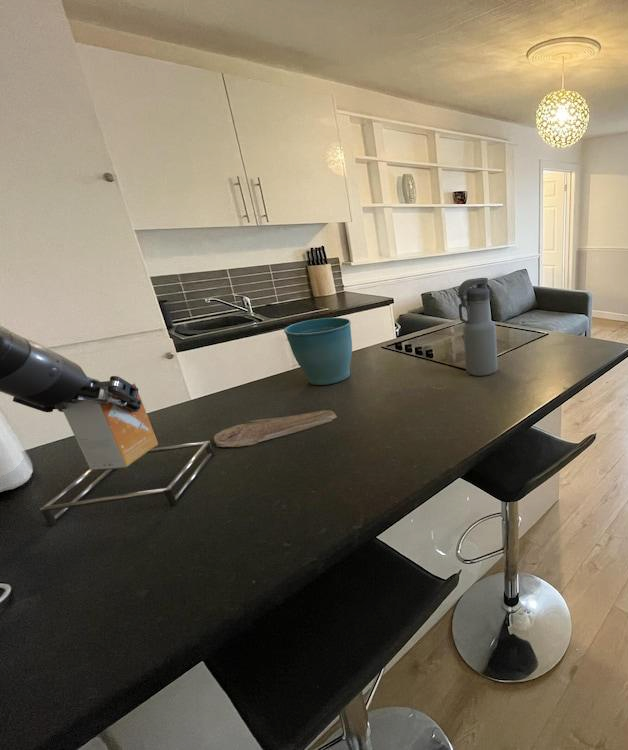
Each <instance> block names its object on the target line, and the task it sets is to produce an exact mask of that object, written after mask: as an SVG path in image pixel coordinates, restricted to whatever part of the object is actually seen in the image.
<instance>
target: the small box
mask: <svg viewBox="0 0 628 750" xmlns="http://www.w3.org/2000/svg"><path fill="white" fill-rule="evenodd" d="M129 383H130V384H132V385H133V386H135V387H136V388H138V387H137V385H136V383H135V382H129ZM103 392H104V390H103V389H100V394H99V397H98V399H102V397H103ZM112 398H113V399H117V400H118V398H119V397H117V396H115V395H112ZM137 399H139V400H141V406H140V409H139V411H137V412H132V411H130V410H128V409H125V408H123V407H121V406H120V405H115V404H110V403H109V404H107V405H100V404H93V403H88V402H84V403H67V409H62V410H63V412H62V413H63V414H64V416H65V419H66V420H67V422H68V425H69V427H70V429H71V431H72V434H73V436H74V437H75V440H76V442H77V444H78V446H79V449H80V450H81V453H82V454H83V457H84V459H85V461H86V463H87V465H88V468H89V469H91V470H92V469H96V470H105V469H106V470H107V469H110V468H117V469H123V468H128V467H129V466H130V465H131V464H133V463H134V462H136V461H137V460H138V459H140V458H141V457H143V456H144V455H145V454H147V453H146V452H148V451H149V450H151V449H153V448H156V447H157V446H158V445H159V442H158V439H157V437H156V435H155V431H154V429H153V427H152V424H151V422H150V418H149V416H148V413H147V411H146V408H145V405H144V403H143V401H142V398H141V396H140V393H139V392H138V395H137Z"/></svg>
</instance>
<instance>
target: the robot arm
mask: <svg viewBox="0 0 628 750" xmlns="http://www.w3.org/2000/svg"><path fill="white" fill-rule="evenodd" d="M130 383H131V382H129V381H127V380H125V379H123V378H122V377H120V376H118V375H117V376H116V375H112V376H110V377H109V380H106V381H105V380H104V381H100V380H99V379H96V378H92V377H89V376H87V375H86V373H85V371H84V370H83V368H82V367H81V366H80V365H79V364H78V363H76V362H74V361H72V360H70V359H68V358H67V357H65V356H63V355H61V354H59V353H58V352H56V351H53V350H51V349H49V348H48V347H47V346H44V345H42V344H40V343H38V342H36V341H33V340H30V339H29V338H28V339H27V338H25V337H23V336H21V335H19V334H17V333H15V332H13V331H12V330H9V329H7V328H6V327H4V326H2V325H0V393H3V394H5V395H8V396H11V397H13V398H12V402H14V403H17V404H19V405H22V406H25V407H29V408H31V409H34V410H36V411H37V410H38V411H40V412H43V413H52V412H53V411H54V410H57V411H58V412H61V413H64V412H63V410H62V409H67V403H84V402H88V403H93V404H100V405H107V404H109V403H110V404H115V405H120V406H121V407H123V408H125V409H128V410H130V411H132V412H137V411H139V409H140V406H141V400H142V399H141V400H139V399H137V395H138V393H139V388H138V387H137V386H136V387H137V388H136V387H135V386H133V385H132V384H130ZM100 389H103V390H104V392H103V397H102V399H98V397H99V394H100ZM112 395H115V396H117V397H119V398H118V400H117V399H113V398H112Z"/></svg>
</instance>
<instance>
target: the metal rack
mask: <svg viewBox="0 0 628 750" xmlns="http://www.w3.org/2000/svg"><path fill="white" fill-rule="evenodd" d="M195 447H199V448H198V449H197V451H196V452H195V453H194V454H193V456H192V457H191V458H190V459H189V460H188V462H187V463H186V464H185V465H184V466H183V467H182V469H181V470H180V471H179V472H177V474H176V475H175V476H174V478H173V479H172V481H170V483H169V484H168V485H167V486H166V487H163V488H156V489H150V490H143V491H137V492H129V493H123V494H116V495H111V496H103V497H98V498H91V499H85V500H84V499H83V500H81V499H82V498H84V496H85V495H86V494H88V493H89V492H90V491H92V489H93V488H94V487H96V486H97V485H98V484H99V483H100V482H101V481H102V480H103V479H104V478H105V477H107V476H108V475H109V474H110V473H111V472H115V471H116V470H118V468H110V469H106V470H105V471H104V472H102V474H101V475H99V476H98V477H97V478H96V479H95V480H94V481H92V482H91V483H90V484H89V485H88V486H86V488H85V489H83V490H82V491H81V492H79V494H78V495H76V497H74V498H73V499H72V500H71V501H70V502H65V503H58V502H59V501H61V499H63V498H64V497H65V496H66V495H67V494H69V493H70V492H71V491H72V490H73V489H74V488H75V487H77V486H78V485H79V484H80V483H82V482H83V481H84V480H85V479H87V477H89V476H90V475H91V474H92V473H94V472H95V471H96V470H97V469H92V470H91V469H90V468H88V469H87V470H86V471H85V472H83V473H82V474H81V475H80V476H79V477H77V478H76V479H75V480H73V482H71V483H70V484H69V485H68V486H66V487H65V488H64V489H63V490H61V491H60V492H59V493H58V494H57V495H56V496H55V497H53V498H52V499H50V500H49V501H48V502H46V504H44V506H42V507H40V508H39V511H40V513H41V514H42V516H43V517H44V520H45V521H46V523H47V525H48V526H49V527H53V526H55V525H57V524H58V520H59V519H60V518H61V517H62V516H63V515H64V514H65V513H67V511H69V510H70V509H71V508H75V507H83V506H89V505H95V504H103V503H108V502H114V501H120V500H128V499H134V498H141V497H147V496H152V495H160V494H165V497H166V500H167V501H168V504H169V506H170V507H175V506H177V505H178V500H179V499H180V497H181V496H182V495H183V493H184V492H185V491H186V489H187V488H188V487H189V486H190V484H191V483H192V482H193V481H194V479H195V478H196V477H197V475H198V474H199V472H200V471H201V470H202V469H203V467H204V466H205V465H206V464H207V462H208V461H209V460H210V458H214V457H215V453H214V450H213V447H212V444H211V441H210V440H205V441H198V442H191V443H183V444H176V445H168V446H161V447H153V448H152V449H151V450H149V451H148V452H146V453H145V454H152V453H158V452H166V451H173V450H180V449H188V448H195ZM205 450H206V453H207V454H206V456H205V458H203V460H202V461H201V462H200V463H199V465H198V466H197V467H196V469H195V470H194V471H193V473H192V474H191V475H190V476H189V477H188V479H187V480H186V481H185V482H184V483H183V485H182V486H181V488H179V490H178V491H177V493H175V494H174V492H173V488H175V486H176V484H178V482H179V481H180V480H181V479H182V478H183V476H184V475H185V474H186V472H188V470H189V469H190V468H191V467H192V465H193V464H194V463H195V462H196V460H197V459H198V458H199V457H200V456H201V454H202V453H203V452H204V451H205ZM57 503H58V504H57ZM56 510H60V511H58V512H57V513H56V514H55V515H54V513H53V512H52V511H56Z"/></svg>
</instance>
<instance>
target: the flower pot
mask: <svg viewBox="0 0 628 750" xmlns="http://www.w3.org/2000/svg"><path fill="white" fill-rule="evenodd" d="M351 323H352V322H351V320H350V319H349V318H344V317H323V318H315V319H309V320H304V321H300V322H299V321H298V322H295V323H293V324H290V325H288V326H286V327H285V328H284V329H283V332H284V334H285V335H286V338H287V341H288V344H289V346H290V349H291V352H292V354H293V357H294V359H295V361H296V363H297V364H298V366H299V368H300V369H301V370H302V372H303V373H304V374H305V376H306V377H307V378H306V379H307V381H308V383H310V384H311V385H313V386H314V385H315V386H327V385H333V384H337V383H340V382H342V381H344V380H346V379H348V378H349V377H350V375H351V371H350V369H351V361H352V357H353V340H352V329H351Z"/></svg>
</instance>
